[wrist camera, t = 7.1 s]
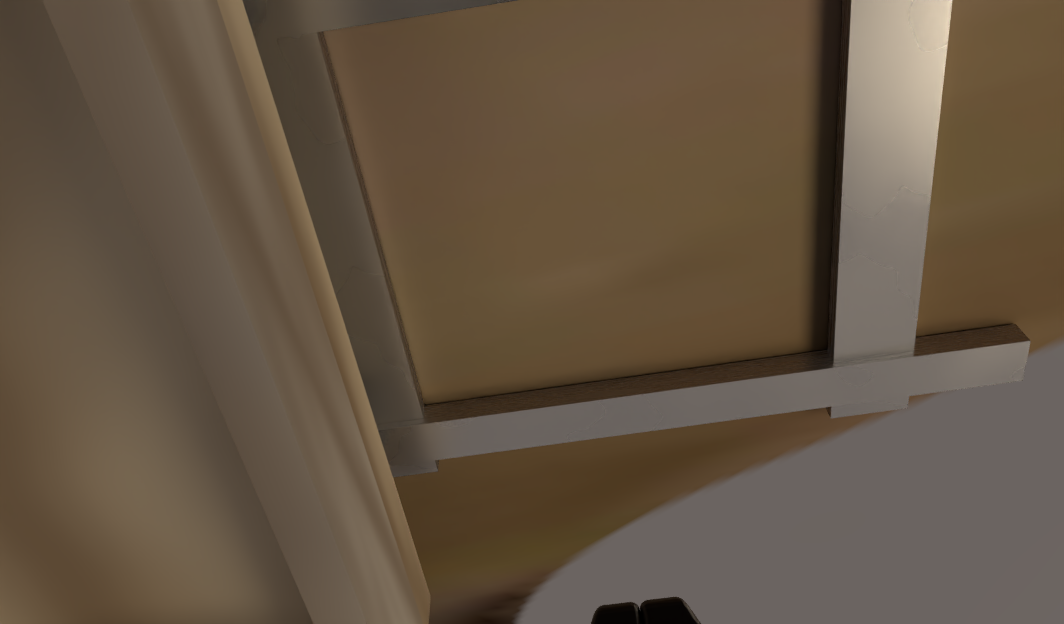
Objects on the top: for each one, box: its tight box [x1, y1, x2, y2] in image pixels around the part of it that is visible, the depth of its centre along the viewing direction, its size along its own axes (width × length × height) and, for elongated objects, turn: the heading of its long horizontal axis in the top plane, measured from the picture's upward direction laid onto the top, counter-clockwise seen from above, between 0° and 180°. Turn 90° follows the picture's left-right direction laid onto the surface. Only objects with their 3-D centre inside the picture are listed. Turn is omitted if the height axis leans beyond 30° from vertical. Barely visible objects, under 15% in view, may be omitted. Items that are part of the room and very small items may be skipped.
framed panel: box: [242, 0, 1030, 477], centre depth 16 cm, size 28×12×2 cm, turn 98°
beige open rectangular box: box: [0, 0, 430, 624], centre depth 14 cm, size 11×15×5 cm
